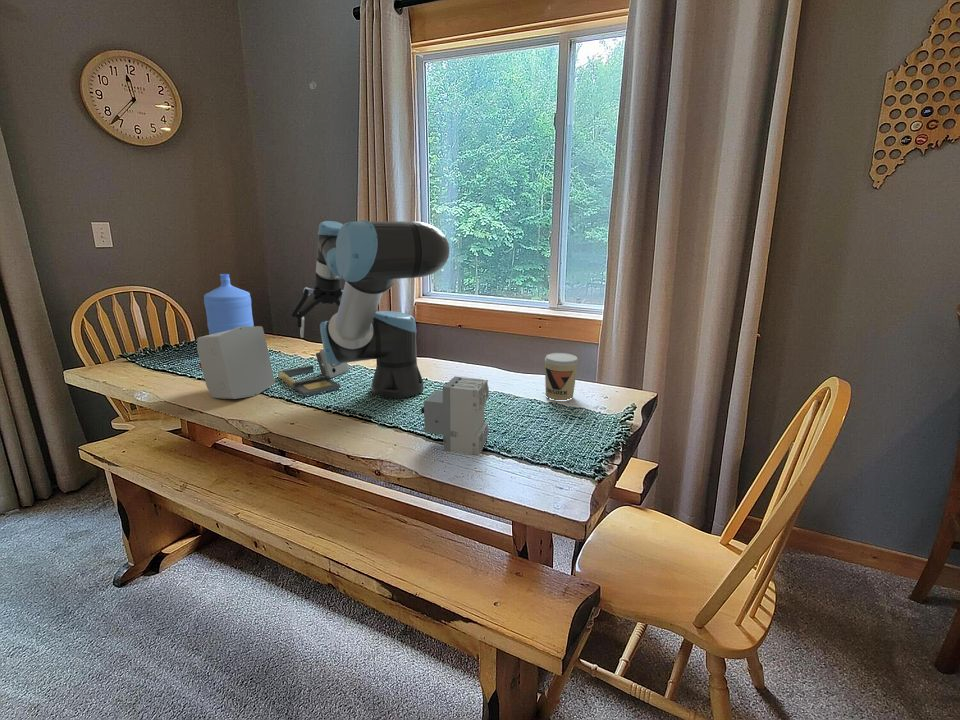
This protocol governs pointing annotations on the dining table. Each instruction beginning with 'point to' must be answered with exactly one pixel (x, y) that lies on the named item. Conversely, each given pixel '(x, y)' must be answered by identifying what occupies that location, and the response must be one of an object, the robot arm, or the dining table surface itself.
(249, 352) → the electrical switch box
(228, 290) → the water jug
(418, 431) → the dining table surface
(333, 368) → the electrical switch
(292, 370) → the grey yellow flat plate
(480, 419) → the circuit breaker
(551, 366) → the coffee cup
